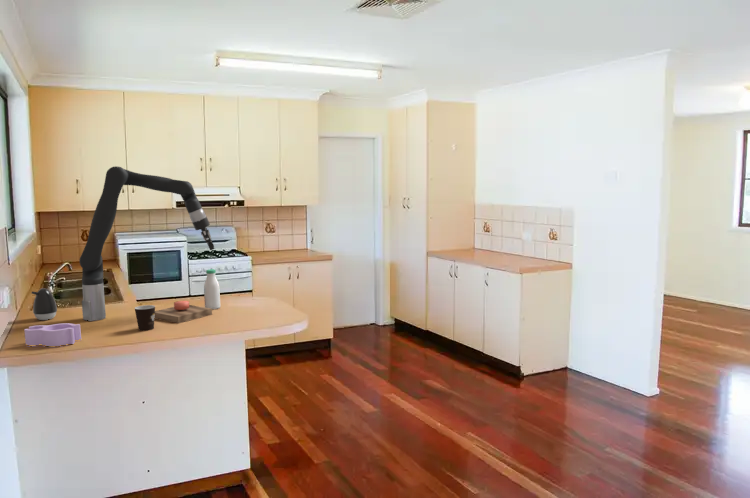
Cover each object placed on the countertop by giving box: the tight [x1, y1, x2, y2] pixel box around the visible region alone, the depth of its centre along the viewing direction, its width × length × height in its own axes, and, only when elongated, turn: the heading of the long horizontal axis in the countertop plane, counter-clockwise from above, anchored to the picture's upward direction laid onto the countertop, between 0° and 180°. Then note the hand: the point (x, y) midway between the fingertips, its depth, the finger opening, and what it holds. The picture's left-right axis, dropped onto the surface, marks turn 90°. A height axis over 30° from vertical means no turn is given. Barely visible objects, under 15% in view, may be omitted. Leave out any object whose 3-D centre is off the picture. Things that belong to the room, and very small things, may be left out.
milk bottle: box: [203, 268, 221, 310], centre depth 313 cm, size 8×8×20 cm
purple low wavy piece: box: [24, 322, 82, 347], centre depth 253 cm, size 20×12×7 cm, turn 94°
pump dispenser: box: [31, 287, 58, 321], centre depth 295 cm, size 10×10×15 cm
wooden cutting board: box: [154, 304, 213, 324], centre depth 297 cm, size 20×20×3 cm
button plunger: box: [173, 300, 190, 310], centre depth 297 cm, size 7×7×3 cm
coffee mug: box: [134, 304, 156, 332], centre depth 274 cm, size 12×9×10 cm
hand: (212, 248), depth 308 cm, fingers open, 8 cm apart
